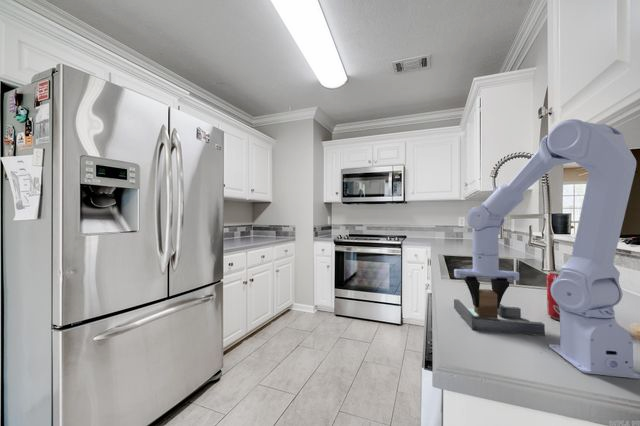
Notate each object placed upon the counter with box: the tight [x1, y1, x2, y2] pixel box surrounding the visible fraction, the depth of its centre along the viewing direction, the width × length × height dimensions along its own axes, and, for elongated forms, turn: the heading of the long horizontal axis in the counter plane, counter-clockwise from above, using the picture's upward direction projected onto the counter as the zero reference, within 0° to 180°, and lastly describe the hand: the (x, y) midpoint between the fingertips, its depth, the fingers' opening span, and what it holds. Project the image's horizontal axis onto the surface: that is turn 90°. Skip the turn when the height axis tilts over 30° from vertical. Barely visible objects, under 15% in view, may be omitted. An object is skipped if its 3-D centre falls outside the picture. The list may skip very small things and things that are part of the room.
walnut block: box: [473, 288, 499, 319], centre depth 69 cm, size 4×4×6 cm
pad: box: [466, 307, 498, 319], centre depth 72 cm, size 6×6×1 cm
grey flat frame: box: [453, 298, 546, 337], centre depth 68 cm, size 15×15×2 cm
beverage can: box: [546, 270, 560, 321], centre depth 69 cm, size 6×6×12 cm
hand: (485, 306), depth 69 cm, fingers closed on walnut block, 4 cm apart
